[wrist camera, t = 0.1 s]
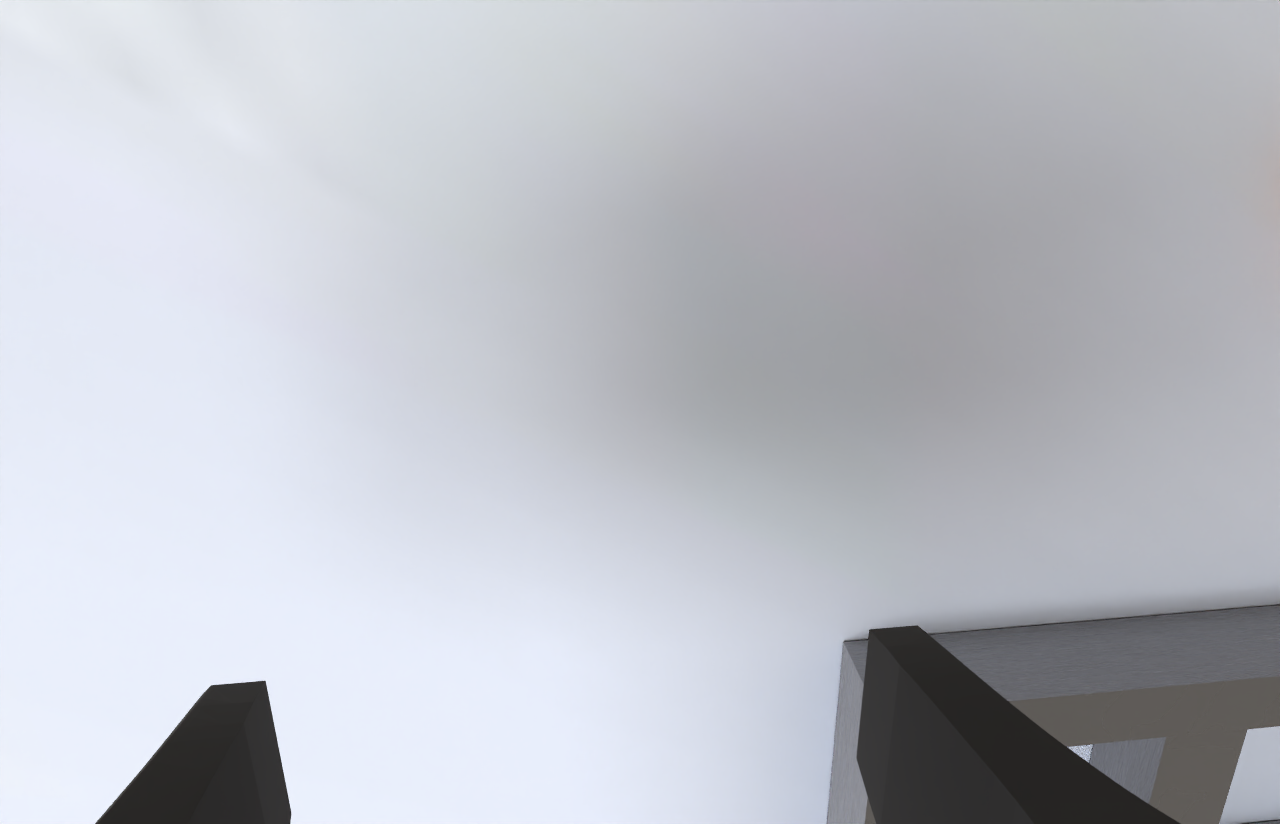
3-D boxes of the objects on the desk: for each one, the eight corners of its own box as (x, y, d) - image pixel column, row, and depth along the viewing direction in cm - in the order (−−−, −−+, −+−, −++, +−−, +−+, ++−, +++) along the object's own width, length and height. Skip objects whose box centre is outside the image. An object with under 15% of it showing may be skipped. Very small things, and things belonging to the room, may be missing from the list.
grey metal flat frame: (1358, 849, 32) (1424, 921, 29) (818, 909, 30) (845, 992, 28) (1457, 590, 28) (1542, 651, 26) (843, 642, 26) (877, 713, 24)
